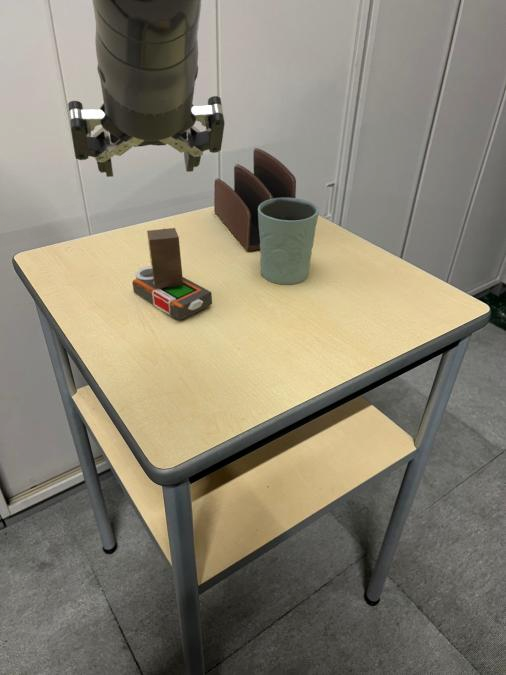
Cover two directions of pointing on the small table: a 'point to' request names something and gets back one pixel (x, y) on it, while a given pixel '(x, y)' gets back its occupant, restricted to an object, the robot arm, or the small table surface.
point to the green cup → (286, 239)
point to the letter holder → (251, 196)
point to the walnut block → (165, 257)
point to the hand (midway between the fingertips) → (149, 166)
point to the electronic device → (172, 295)
